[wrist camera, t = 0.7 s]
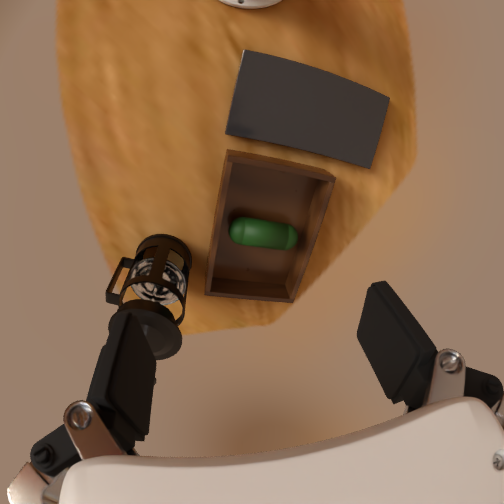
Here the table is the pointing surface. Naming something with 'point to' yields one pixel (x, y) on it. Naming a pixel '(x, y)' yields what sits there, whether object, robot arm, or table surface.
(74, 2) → the table surface
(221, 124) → the table surface
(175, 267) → the french press
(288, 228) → the cucumber
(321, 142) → the board
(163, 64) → the table surface
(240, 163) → the brown wooden tray
